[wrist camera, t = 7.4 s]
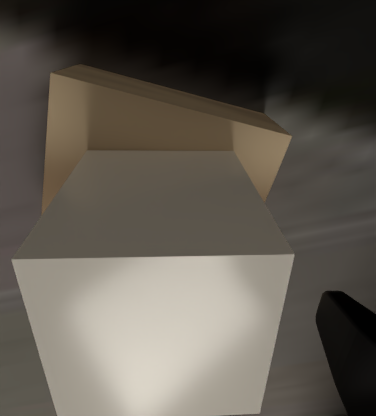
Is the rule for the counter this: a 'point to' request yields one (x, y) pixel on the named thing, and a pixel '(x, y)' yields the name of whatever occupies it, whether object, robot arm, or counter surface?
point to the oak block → (150, 125)
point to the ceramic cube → (155, 286)
